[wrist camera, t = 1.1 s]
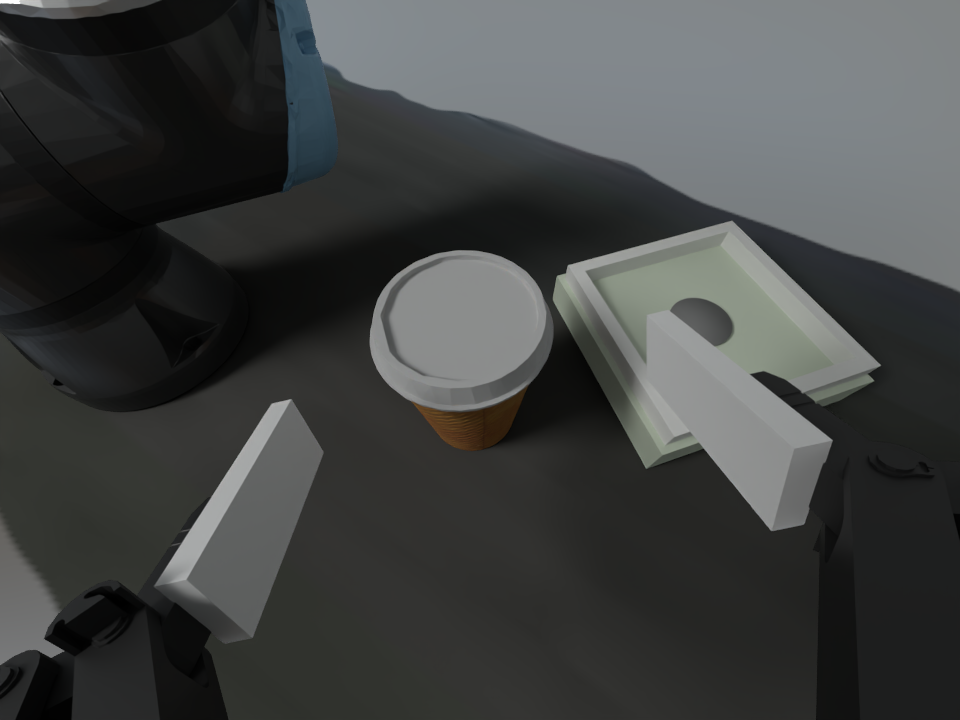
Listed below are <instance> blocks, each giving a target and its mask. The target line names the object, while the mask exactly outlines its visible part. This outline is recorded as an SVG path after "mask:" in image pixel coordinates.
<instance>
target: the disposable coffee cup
mask: <svg viewBox="0 0 960 720" xmlns="http://www.w3.org/2000/svg"><path fill="white" fill-rule="evenodd" d="M552 341H553V321H552V317H551V313H550V310H549V307H548V305H547V304H546V302H545V300H544V298H543V296H542V293H541V290H540V289H539V287H538V286H537V284H536V282H535V281H534V280H533V279H532V278H531V276H530V275H529V274H528V273H527V272H526V271H525V270H523V269H522V268H520V267H519V266H517V265H516V264H514V263H513V262H511V261H509V260H507V259H505V258H503V257H500V256H497V255H494V254H491V253H486V252H480V251H466V250H456V251H450V252H444V253H438V254H434V255H432V256H429V257H426V258H424V259H421V260H419V261H416V262H414V263H413V264H411V265H410V266H408V267H407V268H405V269H404V270H402V271H401V272H399V273H398V274H396V276H395V277H394V278H393V279H392V280H391V281H390V282H389V283H388V284H387V285H386V286H385V288H384V289H383V291H382V293H381V295H380V296H379V298H378V300H377V303H376V306H375V310H374V314H373V320H372V326H371V329H370V348H371V354H372V357H373V360H374V363H375V365H376V368H377V370H378V371H379V373H380V374H381V376H382V377H383V379H384V380H385V381H386V382H387V383H388V385H389V386H390V387H392V388H393V389H394V390H396V391H397V392H398V393H400V394H401V395H402V396H403V397H405V398H406V399H408V400H410V401H412V403H413V404H414V405H415V406H416V407H417V409H418V410H419V411H420V412H421V413H422V415H423V416H424V417H425V418H426V420H427V421H428V422H429V423H430V424H431V426H432V427H433V428H434V429H435V430H436V432H437V433H438V434H439V436H440V437H441V438H442V439H443V440H444V441H445V442H446V443H448V444H449V445H451V446H453V447H455V448H459V449H462V450H469V451H475V450H482V449H485V448H488V447H491V446H493V445H494V444H496V443H498V442H499V441H500V440H501V439H503V437H504V436H505V435H506V434H507V433H508V431H509V429H510V427H511V426H512V423H513V420H514V418H515V416H516V413H517V411H518V409H519V406H520V404H521V402H522V399H523V397H524V394H525V392H526V390H527V388H528V385H529V384H530V383H531V382H532V381H533V380H534V379H535V377H536V376H537V375H538V374H539V372H540V370H541V369H542V367H543V365H544V364H545V362H546V361H547V359H548V356H549V353H550V350H551V346H552Z"/></svg>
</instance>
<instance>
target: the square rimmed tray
mask: <svg viewBox="0 0 960 720" xmlns="http://www.w3.org/2000/svg"><path fill="white" fill-rule="evenodd" d="M553 301H554V303H555V305H556V307H557V308H558V310H559V312H560V314H561V316H562V318H563V319H564V321H565V323H566V325H567V327H568V328H569V330H570V332H571V334H572V336H573V337H574V339H575V341H576V343H577V345H578V346H579V348H580V350H581V352H582V354H583V355H584V357H585V359H586V361H587V363H588V364H589V366H590V368H591V370H592V372H593V373H594V375H595V377H596V379H597V381H598V383H599V384H600V386H601V388H602V390H603V392H604V393H605V395H606V397H607V399H608V401H609V402H610V404H611V406H612V408H613V410H614V411H615V413H616V415H617V417H618V419H619V420H620V422H621V424H622V426H623V428H624V429H625V431H626V433H627V435H628V437H629V438H630V440H631V442H632V444H633V446H634V448H635V449H636V451H637V453H638V455H639V457H640V458H641V460H642V462H643V464H644V466H645V467H646V469H648V468H650V467H653V466H656V465H659V464H662V463H665V462H667V461H670V460H673V459H676V458H679V457H681V456H684V455H687V454H690V453H693V452H696V451H698V450H701V449H704V448H703V447H702V446H701V444H700V443H699V442H698V441H697V439H696V438H695V437H694V436H693V435H692V433H691V432H690V431H689V430H688V428H687V427H686V426H685V425H684V424H683V422H682V421H681V420H680V419H679V417H678V416H677V415H676V414H675V413H674V411H673V410H672V409H671V408H670V406H669V405H668V404H667V403H666V402H665V400H664V399H663V398H662V397H661V395H660V394H659V393H658V392H657V391H656V389H655V388H654V387H653V386H652V384H651V383H650V382H649V381H648V380H647V315H649V314H653V313H657V312H661V311H666V310H669V311H670V312H672V313H673V314H674V315H675V316H677V317H678V318H679V319H681V320H682V321H683V322H684V323H686V324H687V325H688V326H689V327H691V328H692V329H693V330H694V331H696V332H697V333H698V334H699V335H701V336H702V337H703V338H704V339H706V340H707V341H708V342H709V343H711V344H712V345H713V346H715V347H716V348H717V349H718V350H720V351H721V352H722V353H723V354H725V355H726V356H727V357H728V358H730V359H731V360H732V361H733V362H735V363H736V364H737V365H738V366H740V367H741V368H742V369H743V370H745V371H746V372H747V373H749V374H752V373H757V372H761V371H765V372H768V373H770V374H773V375H775V376H778V377H781V378H783V379H785V380H787V381H788V382H790V383H791V384H792V385H794V386H795V387H796V388H798V389H799V390H801V392H802V394H804V393H805V394H806V395H807V396H809V397H810V398H812V399H813V400H814V401H815V403H816V404H817V403H818V404H820V405H821V406H826V405H828V404H831V403H834V402H837V401H840V400H842V399H843V398H845V397H847V396H849V395H851V394H852V393H854V392H856V391H858V390H859V389H861V388H863V387H865V386H866V385H868V384H870V383H872V382H873V381H874V380H873V379H872V378H871V377H870V376H869V375H868V373H870V372H871V371H873V370H875V369H876V368H878V367H880V366H881V365H880V364H879V363H878V362H877V361H876V360H875V359H874V358H873V357H872V356H871V355H870V354H869V353H868V352H867V351H866V350H865V349H864V348H863V347H861V346H860V345H859V344H858V343H857V342H856V341H855V340H854V339H853V338H852V337H851V336H850V335H849V334H848V333H847V332H846V331H845V330H844V329H843V328H842V327H841V326H840V325H839V324H838V323H837V322H836V321H835V320H834V319H833V318H832V317H831V316H830V315H829V314H828V313H826V312H825V311H824V310H823V309H822V308H821V307H820V306H819V305H818V304H817V303H816V302H815V301H814V300H813V299H812V298H811V297H810V296H809V295H808V294H807V293H806V292H805V291H804V290H803V289H802V288H801V287H800V286H799V285H798V284H797V283H796V282H795V281H794V280H793V279H791V278H790V277H789V276H788V275H787V274H786V273H785V272H784V271H783V270H782V269H781V268H780V267H779V266H778V265H777V264H776V263H775V262H774V261H773V260H772V259H771V258H770V257H769V256H768V255H767V254H766V253H765V252H764V251H763V250H762V249H761V248H760V247H759V246H758V245H756V244H755V243H754V242H753V241H752V240H751V239H750V238H749V237H748V236H747V235H746V234H745V233H744V232H743V231H742V230H741V229H740V228H739V227H738V226H737V225H736V224H735V223H734V222H733V221H730V222H726V223H722V224H718V225H715V226H711V227H707V228H704V229H700V230H696V231H693V232H689V233H685V234H682V235H678V236H674V237H671V238H667V239H663V240H660V241H656V242H652V243H648V244H645V245H641V246H637V247H634V248H630V249H626V250H623V251H619V252H615V253H612V254H608V255H604V256H601V257H597V258H593V259H590V260H586V261H582V262H578V263H575V264H571V265H568V267H567V272H566V274H562V275H559V276H557V279H556V284H555V289H554V295H553Z"/></svg>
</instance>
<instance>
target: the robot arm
mask: <svg viewBox="0 0 960 720" xmlns="http://www.w3.org/2000/svg"><path fill="white" fill-rule="evenodd" d="M315 44H316V40H315V36H314V33H313V29H312V24H311V19H310V14H309V11H308V7H307V4H306V1H305V0H0V332H1V333H2V334H3V335H4V336H5V337H6V338H7V339H8V340H9V341H10V342H11V343H12V345H13V346H14V347H15V348H16V349H17V350H18V351H19V352H20V353H21V354H22V355H23V356H24V357H25V358H26V359H27V360H28V361H30V362H31V363H32V364H33V365H34V366H35V367H37V368H38V369H39V370H40V371H41V373H42V375H43V376H44V377H45V379H46V380H47V381H48V382H49V383H50V384H51V385H52V386H53V387H54V388H55V389H57V390H58V391H60V392H61V393H63V394H65V395H67V396H68V397H71V398H73V399H75V400H77V401H79V402H81V403H84V404H86V405H88V406H90V407H93V408H96V409H99V410H104V411H113V412H122V411H133V410H139V409H144V408H148V407H151V406H155V405H158V404H160V403H163V402H166V401H168V400H171V399H173V398H175V397H177V396H179V395H181V394H183V393H185V392H187V391H188V390H190V389H192V388H193V387H195V386H196V385H198V384H199V383H201V382H202V381H203V380H205V379H206V378H207V377H209V376H210V375H211V374H212V373H213V372H214V371H216V370H217V369H218V368H219V367H220V366H221V365H222V364H223V363H224V362H225V360H226V359H227V358H228V357H229V356H230V355H231V353H232V352H233V351H234V349H235V348H236V346H237V345H238V343H239V341H240V339H241V337H242V336H243V333H244V331H245V328H246V325H247V321H248V314H249V307H248V301H247V297H246V295H245V293H244V291H243V290H242V288H241V287H240V286H239V285H238V283H237V282H236V281H235V280H234V279H233V277H232V276H231V275H230V274H229V273H228V272H227V271H226V270H225V269H224V268H223V267H222V266H220V265H219V264H217V263H216V262H214V261H212V260H210V259H208V258H207V257H205V256H204V255H202V254H200V253H199V252H197V251H196V250H194V249H193V248H191V247H189V246H188V245H186V244H185V243H183V242H181V241H180V240H178V239H176V238H175V237H173V236H171V235H170V234H168V233H166V232H165V231H163V230H162V229H160V228H159V227H158V226H157V225H156V223H160V222H164V221H168V220H172V219H176V218H179V217H183V216H187V215H191V214H195V213H199V212H203V211H207V210H211V209H215V208H219V207H223V206H226V205H230V204H234V203H238V202H242V201H246V200H250V199H254V198H258V197H262V196H266V195H270V194H273V193H277V192H280V193H283V192H285V191H289V190H290V189H291V188H292V187H293V186H296V185H298V184H301V183H304V182H307V181H310V180H313V179H316V178H319V177H322V176H324V175H325V174H327V173H328V172H329V171H330V170H331V169H332V167H333V166H334V164H335V162H336V159H337V154H338V141H337V131H336V125H335V119H334V113H333V108H332V103H331V98H330V93H329V89H328V84H327V80H326V76H325V72H324V68H323V64H322V60H321V57H320V54H319V52H318V50H317V48H316V46H315ZM647 380H648V381H649V382H650V383H651V384H652V386H653V387H654V388H655V389H656V391H657V392H658V393H659V394H660V395H661V397H662V398H663V399H664V400H665V402H666V403H667V404H668V405H669V406H670V408H671V409H672V410H673V411H674V413H675V414H676V415H677V416H678V417H679V419H680V420H681V421H682V422H683V424H684V425H685V426H686V427H687V428H688V430H689V431H690V432H691V433H692V435H693V436H694V437H695V438H696V439H697V441H698V442H699V443H700V444H701V446H702V447H703V448H704V449H705V450H706V452H707V453H708V454H709V455H710V457H711V458H712V459H713V460H714V461H715V463H716V464H717V465H718V466H719V468H720V469H721V470H722V471H723V472H724V474H725V475H726V476H727V477H728V479H729V480H730V481H731V482H732V483H733V485H734V486H735V487H736V488H737V490H738V491H739V492H740V493H741V494H742V496H743V497H744V498H745V499H746V501H747V502H748V503H749V504H750V505H751V507H752V508H753V509H754V510H755V512H756V513H757V514H758V515H759V516H760V518H761V519H762V520H763V521H764V523H765V524H766V525H767V526H768V527H769V529H770V530H771V531H775V530H780V529H785V528H790V527H795V526H800V525H804V524H805V521H806V518H807V515H808V512H809V509H811V510H812V511H813V512H814V513H815V514H816V515H817V516H818V517H819V518H820V519H821V520H822V521H823V525H822V528H821V530H820V533H819V535H818V538H817V541H816V543H815V546H814V549H813V550H815V551H817V552H819V551H820V569H819V615H818V660H817V705H816V720H960V462H953V461H931V460H929V459H928V458H927V457H926V456H924V455H922V454H920V453H918V452H916V451H914V450H912V449H910V448H907V447H904V446H900V445H897V444H893V443H888V442H878V441H870V440H868V439H867V438H865V437H864V436H863V435H861V434H860V433H858V432H857V431H856V430H854V429H853V428H852V427H850V426H849V425H847V424H846V423H845V422H843V421H842V420H841V419H839V418H838V417H836V416H835V415H834V414H832V413H831V412H830V411H828V410H827V409H825V408H824V407H823V406H821V405H820V404H818V403H817V404H816V403H815V401H814V400H813V399H812V398H810V397H809V396H807V395H806V394H805V393H804V394H802V392H801V390H799V389H798V388H796V387H795V386H794V385H792V384H791V383H790V382H788V381H787V380H785V379H783V378H781V377H778V376H775V375H773V374H770V373H768V372H765V371H761V372H757V373H752V374H749V373H747V372H746V371H745V370H743V369H742V368H741V367H740V366H738V365H737V364H736V363H735V362H733V361H732V360H731V359H730V358H728V357H727V356H726V355H725V354H723V353H722V352H721V351H720V350H718V349H717V348H716V347H715V346H713V345H712V344H711V343H709V342H708V341H707V340H706V339H704V338H703V337H702V336H701V335H699V334H698V333H697V332H696V331H694V330H693V329H692V328H691V327H689V326H688V325H687V324H686V323H684V322H683V321H682V320H681V319H679V318H678V317H677V316H675V315H674V314H673V313H672V312H670V311H669V310H666V311H661V312H657V313H653V314H649V315H647ZM323 453H324V452H323V450H322V449H321V447H320V445H319V444H318V442H317V440H316V439H315V437H314V435H313V434H312V432H311V431H310V429H309V427H308V426H307V424H306V422H305V421H304V419H303V417H302V416H301V414H300V412H299V411H298V409H297V408H296V406H295V404H294V403H293V401H292V399H290V400H286V401H282V402H277V403H273V404H271V406H270V407H269V409H268V410H267V412H266V414H265V415H264V417H263V418H262V420H261V421H260V423H259V424H258V426H257V427H256V429H255V431H254V432H253V434H252V435H251V437H250V438H249V440H248V441H247V443H246V444H245V446H244V448H243V449H242V451H241V452H240V454H239V455H238V457H237V458H236V460H235V462H234V463H233V465H232V466H231V468H230V469H229V471H228V472H227V474H226V475H225V477H224V479H223V480H222V482H221V483H220V485H219V486H218V488H217V489H216V491H215V493H214V494H213V496H212V497H209V498H207V499H206V500H205V501H204V502H203V503H202V504H201V505H200V506H199V507H198V508H197V509H196V510H195V511H194V512H193V513H192V514H191V516H190V517H189V519H188V520H187V522H186V523H185V525H184V526H183V528H182V529H181V533H179V534H178V535H177V537H176V538H175V540H174V541H173V543H172V547H169V549H168V550H167V551H166V553H165V554H164V556H163V557H162V559H161V560H160V562H159V563H158V565H157V566H156V568H155V569H154V571H153V572H152V574H151V575H150V577H149V578H148V580H147V581H146V583H145V584H144V586H143V587H142V589H141V590H140V592H139V593H138V595H137V596H136V595H135V594H134V593H132V592H131V591H130V590H129V589H127V588H126V587H125V586H123V585H122V584H121V583H119V582H118V581H113V580H108V581H105V582H102V583H98V584H97V585H95V586H93V587H91V588H89V589H88V590H86V591H84V592H83V593H82V594H80V595H79V596H78V597H76V598H75V599H74V600H72V601H71V602H70V603H69V604H68V605H67V606H66V607H65V608H64V609H63V610H62V611H61V612H60V613H59V614H58V615H57V616H56V618H55V619H54V621H53V622H52V623H51V625H50V626H49V627H48V630H47V632H46V635H45V638H44V639H45V640H47V641H49V642H51V643H52V644H54V645H56V646H57V647H59V648H61V649H63V650H64V652H62V653H60V654H58V655H56V656H54V657H53V658H50V657H48V656H46V655H44V654H42V653H40V652H39V651H37V650H28V651H25V652H23V653H20V654H18V655H16V656H14V657H12V658H11V659H9V660H8V661H6V662H5V663H3V664H2V665H0V720H228V716H227V712H226V708H225V705H224V701H223V697H222V693H221V690H220V686H219V682H218V678H217V675H216V671H215V667H214V663H213V660H212V656H211V654H210V653H209V651H208V650H207V649H206V648H205V647H204V646H205V644H206V642H207V640H208V638H209V635H210V633H212V634H213V635H214V636H216V637H217V638H218V639H219V640H221V641H222V642H223V643H224V644H225V643H230V642H234V641H239V640H244V639H249V638H253V635H254V633H255V630H256V627H257V625H258V622H259V620H260V617H261V614H262V612H263V609H264V607H265V604H266V601H267V599H268V596H269V594H270V591H271V588H272V586H273V583H274V581H275V578H276V575H277V573H278V570H279V567H280V565H281V562H282V560H283V557H284V554H285V552H286V549H287V547H288V544H289V541H290V539H291V536H292V534H293V531H294V528H295V526H296V523H297V521H298V518H299V515H300V513H301V510H302V508H303V505H304V502H305V500H306V497H307V495H308V492H309V489H310V487H311V484H312V482H313V479H314V476H315V474H316V471H317V469H318V466H319V463H320V461H321V458H322V456H323Z"/></svg>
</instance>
